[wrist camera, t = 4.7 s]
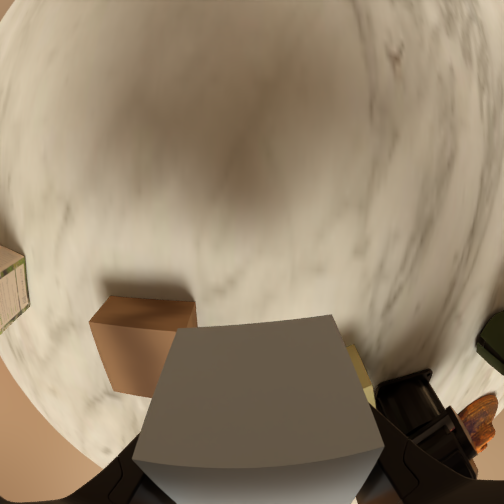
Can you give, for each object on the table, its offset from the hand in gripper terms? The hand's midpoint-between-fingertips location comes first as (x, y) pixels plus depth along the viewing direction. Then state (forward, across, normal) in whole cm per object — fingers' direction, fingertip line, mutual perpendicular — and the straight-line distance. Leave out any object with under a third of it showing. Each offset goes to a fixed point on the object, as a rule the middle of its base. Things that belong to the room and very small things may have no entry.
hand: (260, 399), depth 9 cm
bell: (+12, -32, +31) cm, 46 cm away
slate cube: (+1, 0, 0) cm, 1 cm away
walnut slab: (+11, +9, +5) cm, 15 cm away
